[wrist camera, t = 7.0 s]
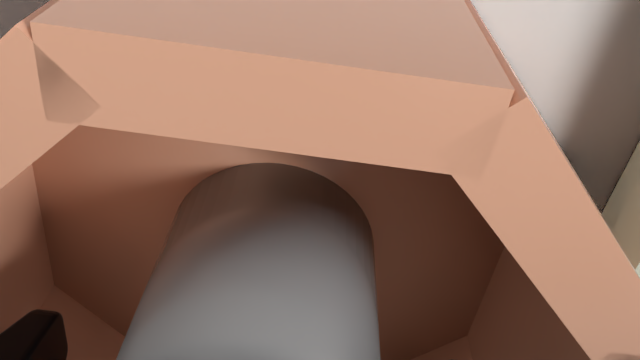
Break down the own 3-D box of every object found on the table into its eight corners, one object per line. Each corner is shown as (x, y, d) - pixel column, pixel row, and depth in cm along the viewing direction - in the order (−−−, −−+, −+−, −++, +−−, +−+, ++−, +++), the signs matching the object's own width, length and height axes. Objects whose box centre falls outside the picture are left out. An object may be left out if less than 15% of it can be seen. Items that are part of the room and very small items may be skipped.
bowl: (653, 0, 9) (856, 137, 5) (462, 412, 15) (498, 603, 12) (-62, -106, 8) (-358, -33, 5) (43, 364, 15) (-54, 546, 11)
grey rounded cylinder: (392, 178, 10) (413, 361, 7) (355, 327, 13) (357, 518, 9) (170, 148, 10) (84, 320, 7) (173, 304, 12) (109, 491, 9)
